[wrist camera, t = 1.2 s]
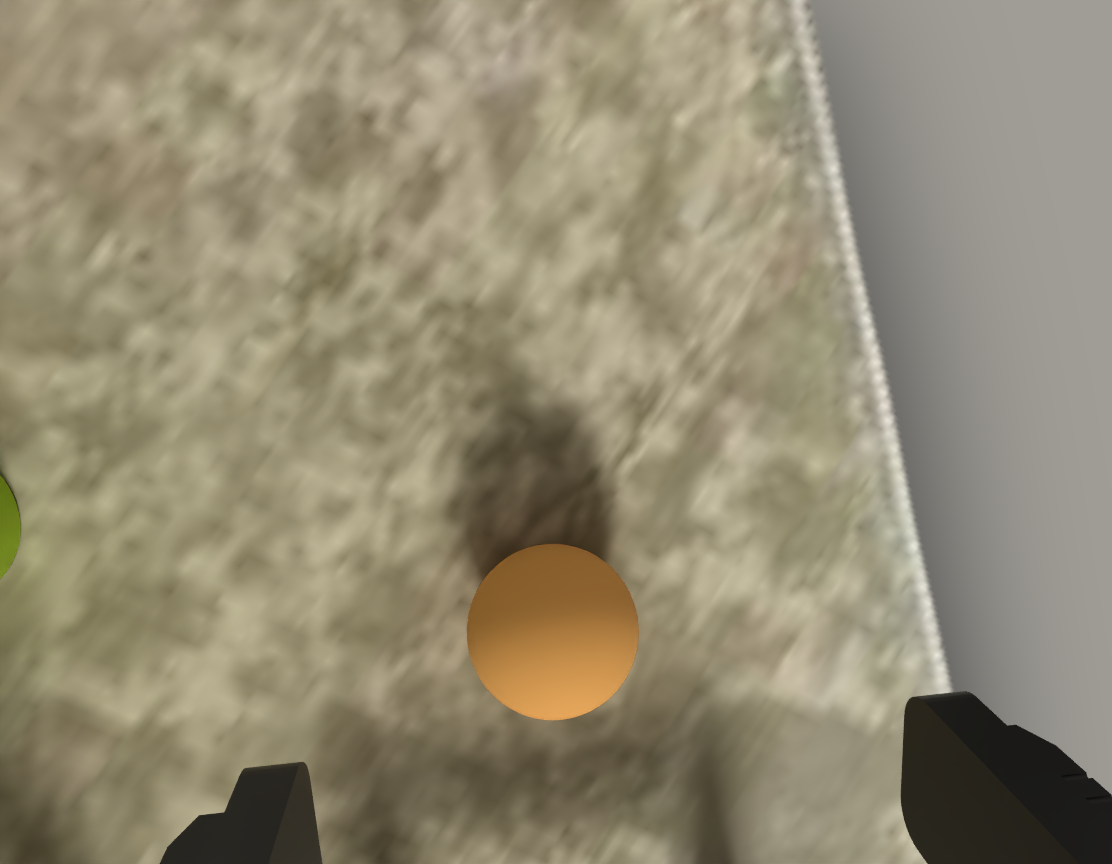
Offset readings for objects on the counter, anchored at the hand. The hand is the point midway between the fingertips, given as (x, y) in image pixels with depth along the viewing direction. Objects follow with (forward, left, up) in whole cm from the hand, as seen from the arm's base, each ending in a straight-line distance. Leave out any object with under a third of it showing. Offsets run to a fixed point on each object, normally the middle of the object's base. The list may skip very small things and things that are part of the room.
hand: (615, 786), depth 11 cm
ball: (+6, +1, -16) cm, 17 cm away
